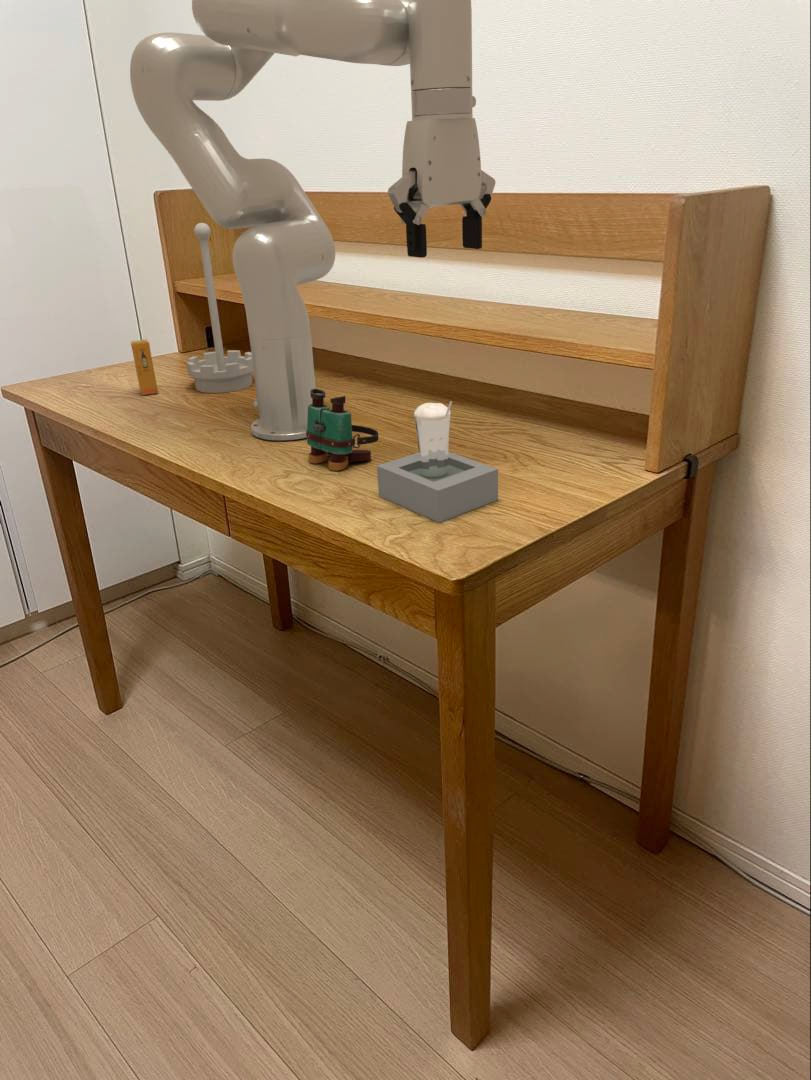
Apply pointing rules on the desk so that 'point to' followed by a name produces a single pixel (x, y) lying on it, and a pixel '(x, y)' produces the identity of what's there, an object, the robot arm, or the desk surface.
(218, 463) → the desk surface
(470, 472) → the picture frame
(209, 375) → the flag stand
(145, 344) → the supplement box
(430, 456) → the milkshake
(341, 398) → the binoculars
